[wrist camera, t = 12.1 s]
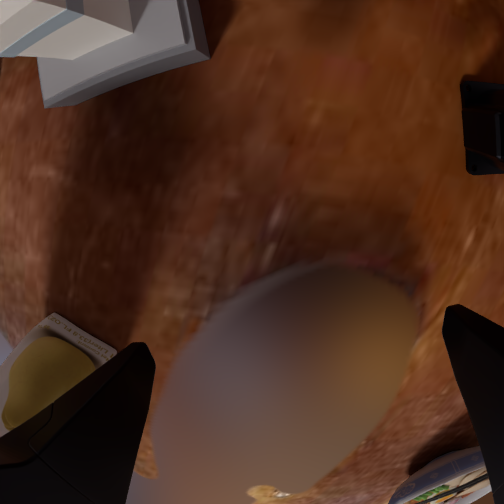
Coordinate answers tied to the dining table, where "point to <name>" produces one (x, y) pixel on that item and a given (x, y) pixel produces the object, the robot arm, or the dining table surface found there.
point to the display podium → (129, 53)
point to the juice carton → (46, 368)
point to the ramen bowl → (446, 480)
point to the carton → (61, 26)
